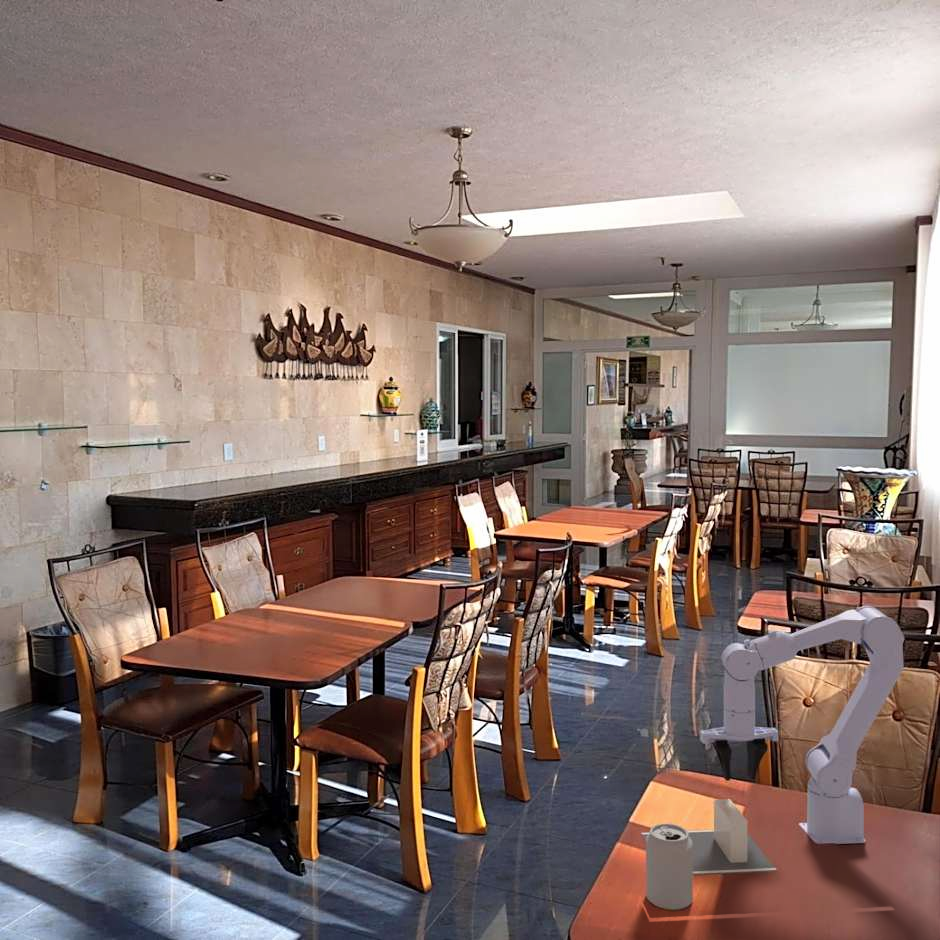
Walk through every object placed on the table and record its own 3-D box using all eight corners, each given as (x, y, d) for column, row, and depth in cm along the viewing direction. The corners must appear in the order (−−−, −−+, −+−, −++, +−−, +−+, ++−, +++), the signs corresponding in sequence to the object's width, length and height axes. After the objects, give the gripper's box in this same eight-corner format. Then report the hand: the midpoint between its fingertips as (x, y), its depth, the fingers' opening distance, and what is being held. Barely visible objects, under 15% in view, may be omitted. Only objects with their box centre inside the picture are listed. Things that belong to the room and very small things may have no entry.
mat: (743, 830, 171) (743, 827, 171) (777, 873, 155) (777, 870, 155) (640, 835, 170) (640, 832, 169) (663, 879, 154) (663, 875, 154)
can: (666, 919, 142) (666, 846, 141) (636, 896, 148) (636, 826, 147) (702, 906, 145) (702, 835, 144) (672, 885, 152) (671, 816, 151)
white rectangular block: (730, 837, 167) (730, 798, 166) (747, 862, 158) (747, 820, 157) (713, 838, 167) (714, 799, 166) (730, 862, 158) (730, 821, 157)
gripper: (768, 700, 173) (768, 768, 174) (695, 702, 173) (695, 771, 173) (783, 712, 166) (782, 783, 167) (706, 714, 166) (706, 786, 166)
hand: (738, 778), depth 170 cm, fingers open, 4 cm apart
